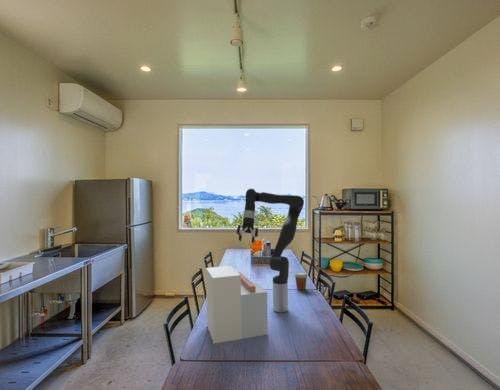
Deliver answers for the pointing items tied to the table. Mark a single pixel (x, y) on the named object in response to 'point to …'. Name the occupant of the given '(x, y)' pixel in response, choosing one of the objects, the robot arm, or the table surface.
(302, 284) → the disposable coffee cup
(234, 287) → the riser
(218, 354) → the table surface
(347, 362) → the table surface
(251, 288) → the rod
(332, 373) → the table surface
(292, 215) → the robot arm
